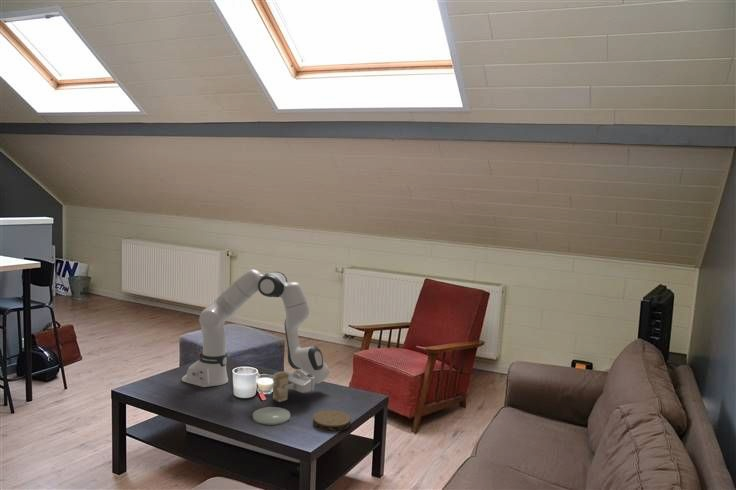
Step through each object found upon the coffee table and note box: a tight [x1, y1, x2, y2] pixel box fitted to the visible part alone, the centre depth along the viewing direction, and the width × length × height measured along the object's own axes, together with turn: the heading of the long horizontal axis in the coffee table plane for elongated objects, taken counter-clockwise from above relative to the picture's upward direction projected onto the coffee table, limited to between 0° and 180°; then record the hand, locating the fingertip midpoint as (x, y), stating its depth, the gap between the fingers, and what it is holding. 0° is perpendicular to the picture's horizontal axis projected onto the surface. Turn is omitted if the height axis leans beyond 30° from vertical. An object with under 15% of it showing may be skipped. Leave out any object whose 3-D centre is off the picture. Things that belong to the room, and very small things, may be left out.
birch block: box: [272, 370, 289, 403], centre depth 269 cm, size 5×5×12 cm
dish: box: [252, 406, 291, 426], centre depth 256 cm, size 16×16×1 cm
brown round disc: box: [312, 409, 352, 433], centre depth 253 cm, size 16×16×3 cm
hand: (279, 385), depth 268 cm, fingers closed on birch block, 5 cm apart
